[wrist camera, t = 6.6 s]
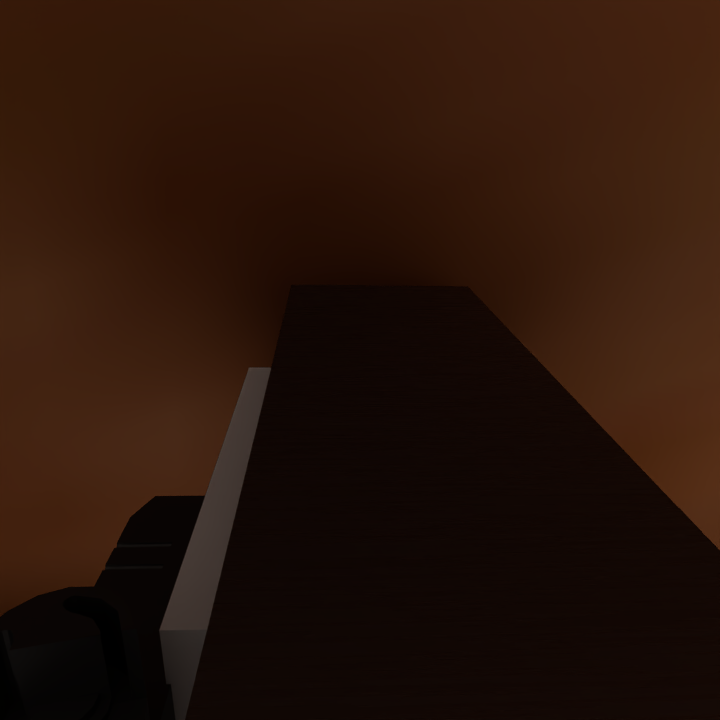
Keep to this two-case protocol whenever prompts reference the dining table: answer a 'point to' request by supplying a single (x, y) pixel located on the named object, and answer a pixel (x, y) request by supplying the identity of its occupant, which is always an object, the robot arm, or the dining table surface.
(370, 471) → the hook tool
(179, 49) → the dining table surface
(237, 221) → the dining table surface
